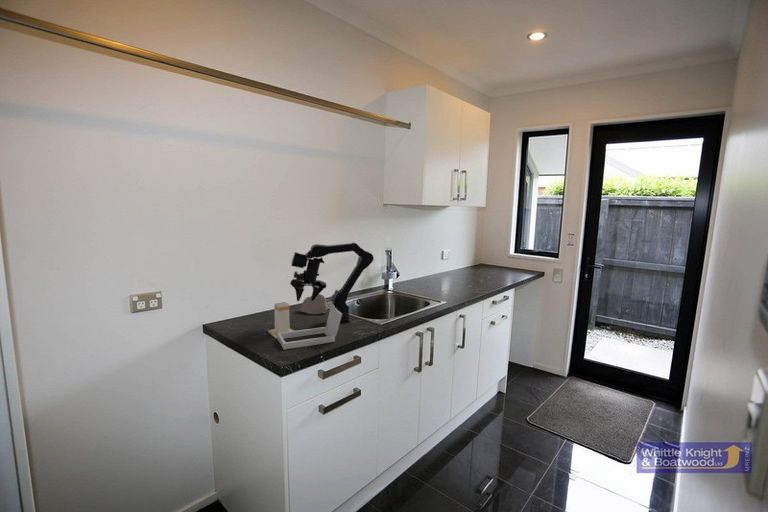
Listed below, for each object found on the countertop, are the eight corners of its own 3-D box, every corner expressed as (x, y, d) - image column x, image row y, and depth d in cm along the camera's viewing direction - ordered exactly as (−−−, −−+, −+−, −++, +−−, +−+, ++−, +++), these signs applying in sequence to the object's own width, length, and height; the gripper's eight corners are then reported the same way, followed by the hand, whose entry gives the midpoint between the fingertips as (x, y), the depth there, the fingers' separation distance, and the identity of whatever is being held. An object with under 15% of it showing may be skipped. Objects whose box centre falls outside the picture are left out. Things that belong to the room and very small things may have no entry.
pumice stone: (298, 313, 199) (298, 295, 198) (305, 309, 206) (305, 291, 205) (324, 316, 195) (324, 297, 194) (330, 312, 202) (330, 294, 201)
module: (285, 328, 172) (284, 301, 170) (289, 332, 168) (289, 304, 166) (274, 330, 169) (274, 303, 167) (279, 334, 165) (278, 306, 163)
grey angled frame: (332, 330, 173) (332, 305, 171) (342, 340, 162) (342, 313, 160) (277, 338, 161) (277, 311, 160) (283, 349, 150) (283, 320, 148)
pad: (288, 327, 176) (288, 326, 176) (297, 333, 168) (297, 332, 168) (267, 331, 170) (267, 330, 170) (275, 338, 162) (275, 337, 162)
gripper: (315, 267, 191) (308, 295, 192) (286, 264, 176) (279, 296, 177) (330, 272, 185) (323, 302, 186) (301, 270, 170) (294, 303, 171)
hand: (305, 300), depth 180 cm, fingers open, 9 cm apart
